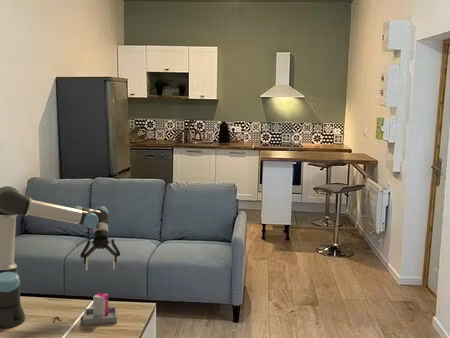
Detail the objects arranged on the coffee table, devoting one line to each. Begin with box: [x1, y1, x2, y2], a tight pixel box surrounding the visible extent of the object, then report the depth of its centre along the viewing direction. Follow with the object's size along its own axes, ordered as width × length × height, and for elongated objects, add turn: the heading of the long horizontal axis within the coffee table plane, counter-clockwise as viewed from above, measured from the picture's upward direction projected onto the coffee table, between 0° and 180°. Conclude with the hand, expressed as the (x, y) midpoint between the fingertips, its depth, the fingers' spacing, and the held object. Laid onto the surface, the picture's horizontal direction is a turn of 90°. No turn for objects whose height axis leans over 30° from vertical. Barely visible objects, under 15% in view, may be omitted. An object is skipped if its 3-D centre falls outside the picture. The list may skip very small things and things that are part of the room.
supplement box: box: [92, 292, 109, 318], centre depth 241 cm, size 6×6×12 cm
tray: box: [82, 305, 118, 327], centre depth 241 cm, size 16×13×3 cm
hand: (100, 268), depth 249 cm, fingers open, 13 cm apart
